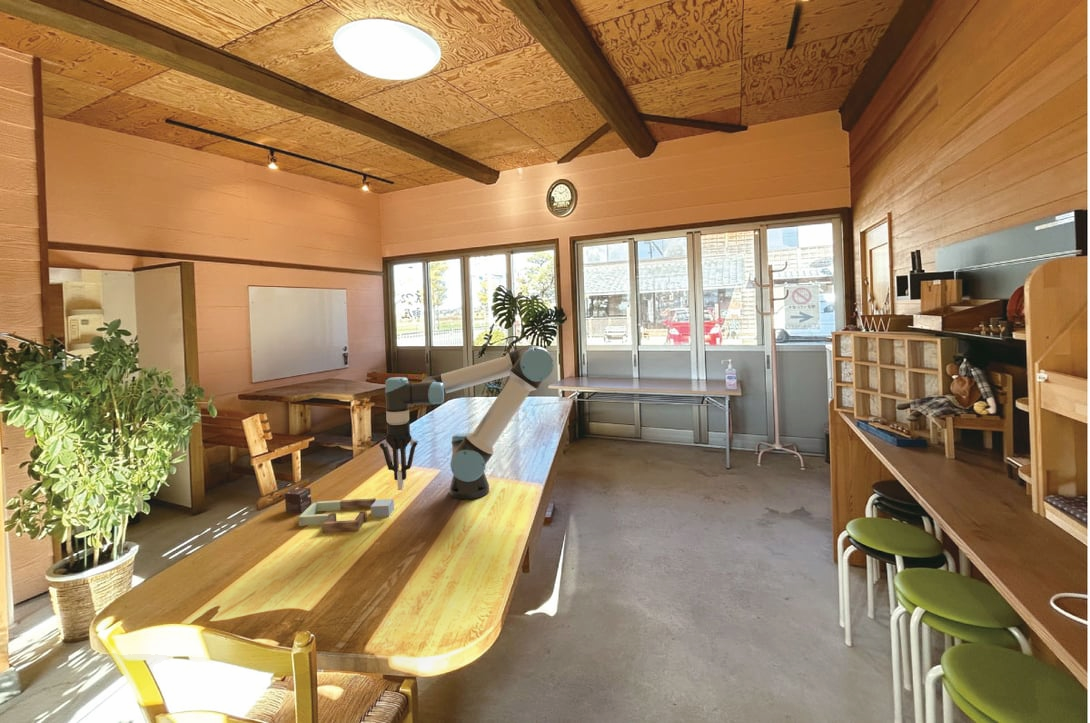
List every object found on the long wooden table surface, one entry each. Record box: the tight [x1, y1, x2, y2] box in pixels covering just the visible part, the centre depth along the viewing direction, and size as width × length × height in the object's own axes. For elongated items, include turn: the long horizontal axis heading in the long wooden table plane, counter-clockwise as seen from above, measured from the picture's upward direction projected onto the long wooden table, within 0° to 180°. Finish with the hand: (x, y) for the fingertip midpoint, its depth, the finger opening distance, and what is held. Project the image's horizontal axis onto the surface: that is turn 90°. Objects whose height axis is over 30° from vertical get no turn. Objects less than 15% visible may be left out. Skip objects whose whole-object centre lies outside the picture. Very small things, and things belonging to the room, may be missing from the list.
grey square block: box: [370, 498, 395, 518], centre depth 163 cm, size 6×6×4 cm
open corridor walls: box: [321, 497, 377, 534], centre depth 159 cm, size 12×20×3 cm, turn 5°
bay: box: [298, 499, 342, 527], centre depth 161 cm, size 10×13×3 cm
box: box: [284, 487, 313, 515], centre depth 167 cm, size 6×6×7 cm
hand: (400, 488), depth 163 cm, fingers closed
